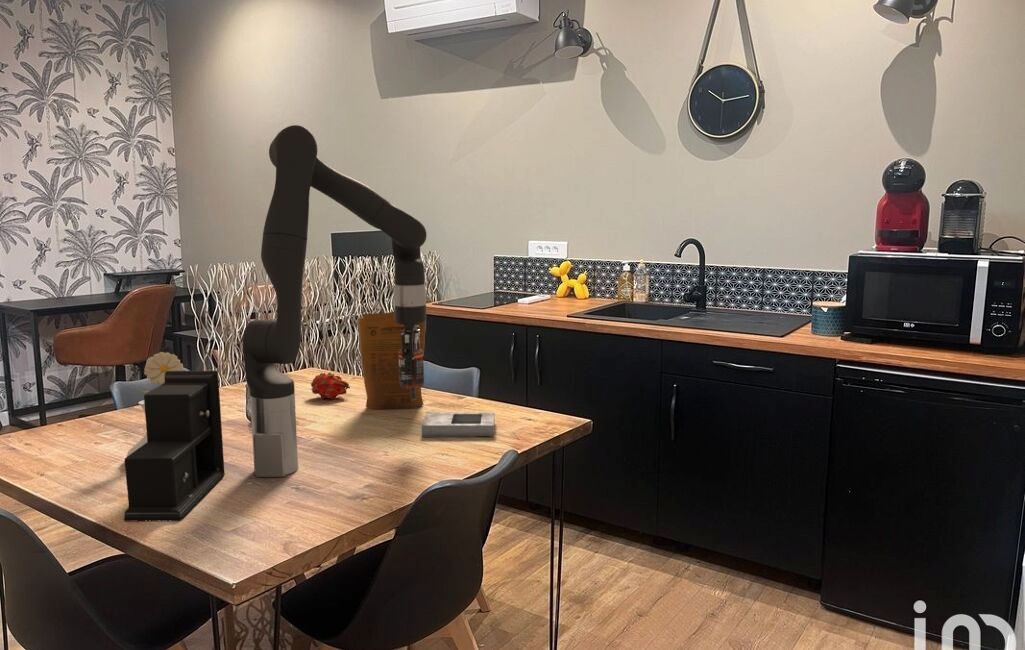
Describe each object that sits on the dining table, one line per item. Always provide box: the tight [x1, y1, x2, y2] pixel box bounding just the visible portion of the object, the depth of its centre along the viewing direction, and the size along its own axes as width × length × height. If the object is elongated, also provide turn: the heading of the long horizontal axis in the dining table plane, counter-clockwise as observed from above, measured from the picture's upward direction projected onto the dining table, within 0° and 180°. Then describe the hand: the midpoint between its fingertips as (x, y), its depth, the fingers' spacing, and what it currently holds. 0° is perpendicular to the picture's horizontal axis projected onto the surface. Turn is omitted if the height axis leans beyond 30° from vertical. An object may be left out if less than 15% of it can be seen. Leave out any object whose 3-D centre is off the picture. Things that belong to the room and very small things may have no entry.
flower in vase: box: [126, 351, 184, 457], centre depth 172 cm, size 13×11×25 cm
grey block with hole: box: [420, 411, 496, 438], centre depth 197 cm, size 12×18×3 cm, turn 90°
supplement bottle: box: [399, 340, 425, 389], centre depth 184 cm, size 6×6×11 cm
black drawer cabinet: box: [123, 370, 225, 522], centre depth 150 cm, size 23×11×24 cm, turn 1°
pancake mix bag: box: [357, 311, 427, 410], centre depth 216 cm, size 7×19×28 cm, turn 96°
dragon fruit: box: [310, 372, 351, 401], centre depth 229 cm, size 8×8×12 cm
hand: (411, 371), depth 184 cm, fingers closed on supplement bottle, 6 cm apart
